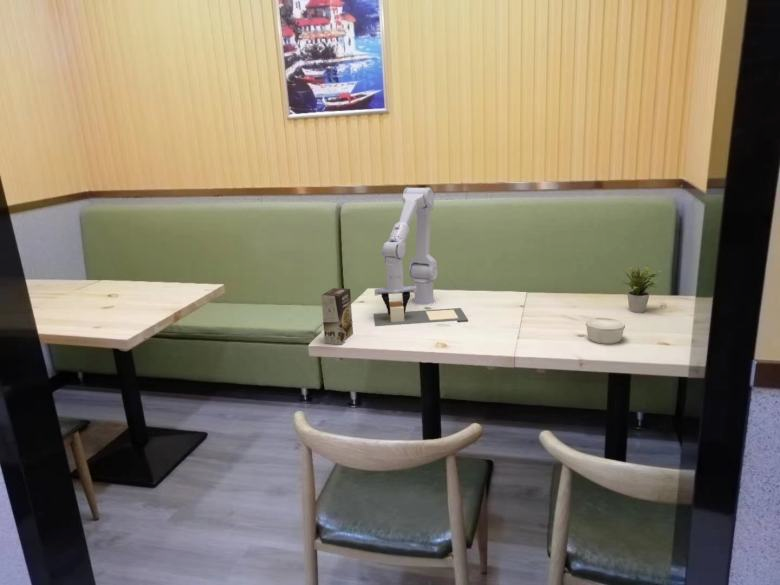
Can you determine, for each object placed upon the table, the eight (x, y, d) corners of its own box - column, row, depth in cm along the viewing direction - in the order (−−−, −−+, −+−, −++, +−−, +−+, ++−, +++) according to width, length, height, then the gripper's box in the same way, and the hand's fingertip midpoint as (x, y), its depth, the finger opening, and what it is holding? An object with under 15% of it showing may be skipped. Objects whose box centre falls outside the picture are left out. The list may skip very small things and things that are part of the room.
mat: (373, 315, 212) (373, 313, 212) (460, 309, 214) (460, 307, 213) (375, 327, 198) (375, 326, 198) (468, 321, 200) (468, 319, 200)
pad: (425, 311, 211) (425, 311, 211) (453, 310, 211) (453, 309, 211) (429, 320, 201) (429, 319, 201) (458, 318, 202) (458, 318, 202)
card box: (389, 315, 209) (388, 301, 208) (402, 314, 209) (401, 301, 208) (391, 322, 201) (390, 308, 200) (404, 321, 202) (403, 307, 200)
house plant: (657, 320, 192) (661, 271, 188) (613, 315, 199) (616, 268, 195) (662, 308, 204) (666, 262, 200) (620, 303, 211) (623, 259, 206)
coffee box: (342, 345, 184) (338, 295, 180) (324, 343, 186) (320, 294, 182) (354, 335, 192) (350, 288, 188) (336, 334, 194) (332, 287, 190)
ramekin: (621, 333, 182) (622, 317, 181) (626, 346, 172) (627, 329, 170) (583, 332, 185) (584, 316, 183) (586, 345, 174) (587, 328, 173)
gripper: (374, 279, 197) (376, 318, 201) (417, 277, 198) (418, 315, 201) (373, 275, 204) (375, 312, 207) (414, 272, 205) (416, 309, 208)
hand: (396, 313), depth 205 cm, fingers closed on card box, 5 cm apart
